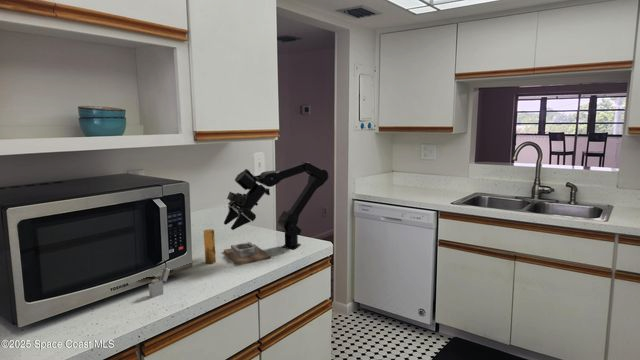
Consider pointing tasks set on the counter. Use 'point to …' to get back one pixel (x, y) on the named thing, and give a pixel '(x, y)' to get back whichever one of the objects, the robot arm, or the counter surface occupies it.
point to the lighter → (158, 284)
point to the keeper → (246, 253)
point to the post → (209, 246)
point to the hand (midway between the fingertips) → (228, 226)
